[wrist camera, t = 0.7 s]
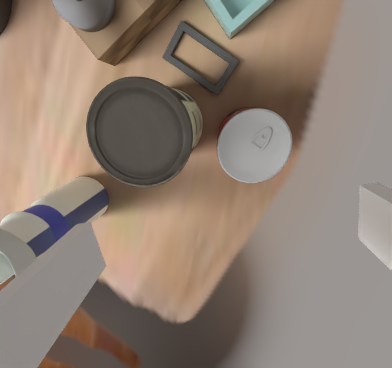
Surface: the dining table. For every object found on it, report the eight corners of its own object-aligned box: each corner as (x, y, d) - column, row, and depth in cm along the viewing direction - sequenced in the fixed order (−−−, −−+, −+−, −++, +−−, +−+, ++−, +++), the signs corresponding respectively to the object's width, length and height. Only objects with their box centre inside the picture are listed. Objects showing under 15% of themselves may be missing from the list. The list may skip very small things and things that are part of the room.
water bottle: (117, 218, 42) (-19, 367, 18) (72, 221, 43) (-113, 365, 19) (106, 173, 39) (-68, 276, 16) (58, 177, 40) (-172, 279, 17)
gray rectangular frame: (163, 58, 33) (162, 57, 32) (182, 22, 31) (181, 20, 31) (217, 95, 34) (217, 94, 33) (238, 61, 32) (238, 60, 32)
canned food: (280, 117, 34) (307, 123, 24) (257, 169, 37) (272, 194, 26) (230, 99, 34) (234, 96, 23) (210, 151, 36) (206, 170, 26)
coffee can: (121, 116, 36) (63, 122, 23) (175, 72, 33) (145, 49, 20) (163, 171, 38) (132, 206, 25) (216, 133, 35) (214, 149, 22)
